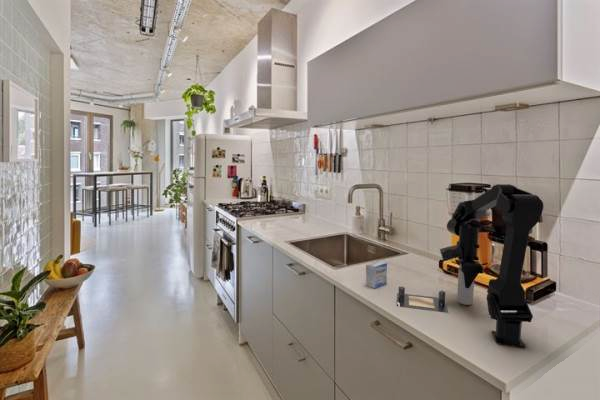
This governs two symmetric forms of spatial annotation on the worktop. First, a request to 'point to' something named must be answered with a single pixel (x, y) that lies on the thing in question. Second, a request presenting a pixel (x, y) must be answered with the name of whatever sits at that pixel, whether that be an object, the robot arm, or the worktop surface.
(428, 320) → the worktop surface
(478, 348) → the worktop surface
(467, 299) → the beverage can
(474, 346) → the worktop surface
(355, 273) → the worktop surface
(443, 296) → the post gate
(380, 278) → the medicine box
